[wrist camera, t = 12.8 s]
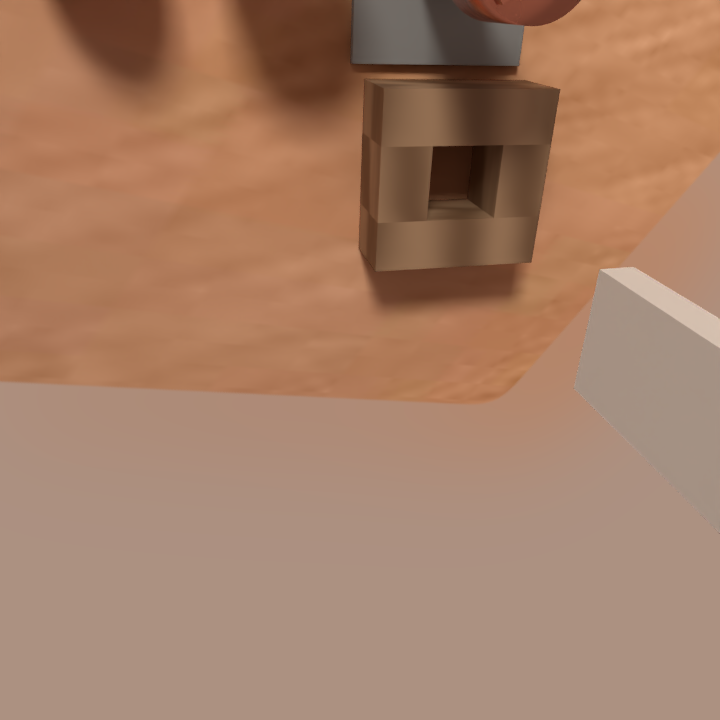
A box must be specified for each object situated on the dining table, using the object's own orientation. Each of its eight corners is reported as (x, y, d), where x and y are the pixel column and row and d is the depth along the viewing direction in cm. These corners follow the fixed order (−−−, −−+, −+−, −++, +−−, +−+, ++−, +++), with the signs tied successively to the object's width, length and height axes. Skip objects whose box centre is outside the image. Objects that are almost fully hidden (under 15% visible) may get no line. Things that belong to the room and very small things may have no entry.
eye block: (358, 247, 51) (375, 271, 47) (364, 78, 45) (384, 88, 41) (502, 240, 54) (531, 262, 49) (525, 80, 48) (560, 89, 44)
